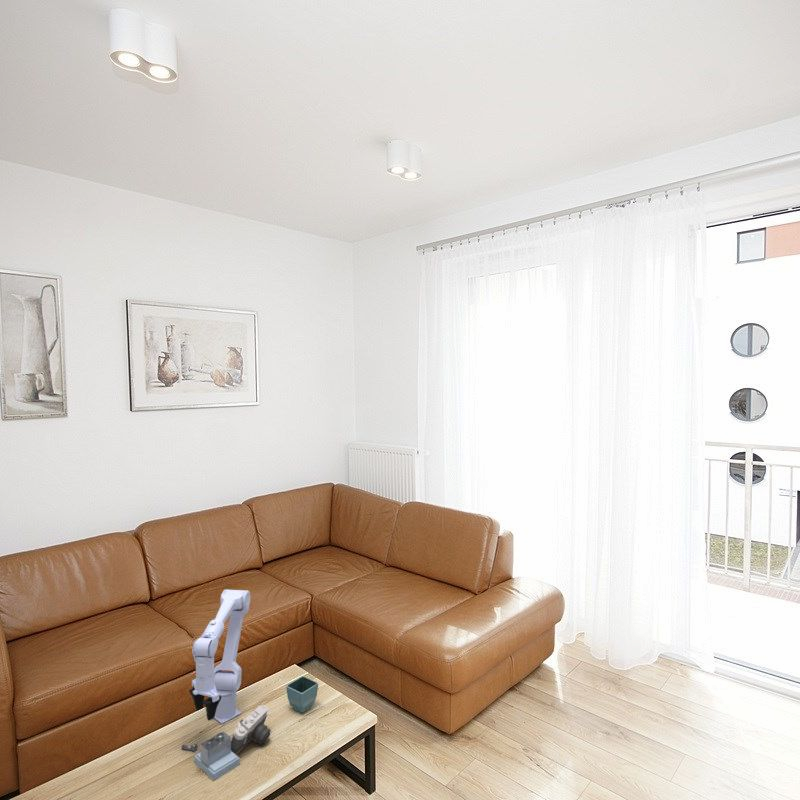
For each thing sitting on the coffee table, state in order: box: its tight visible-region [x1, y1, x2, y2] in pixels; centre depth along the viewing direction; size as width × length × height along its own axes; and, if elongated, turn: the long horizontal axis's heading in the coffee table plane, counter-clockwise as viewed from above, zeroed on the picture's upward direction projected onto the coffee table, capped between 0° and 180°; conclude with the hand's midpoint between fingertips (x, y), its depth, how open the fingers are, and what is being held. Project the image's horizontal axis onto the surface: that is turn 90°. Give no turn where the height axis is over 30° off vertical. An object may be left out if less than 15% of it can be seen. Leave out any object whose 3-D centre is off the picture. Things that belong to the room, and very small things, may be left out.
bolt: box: [181, 743, 198, 752], centre depth 169 cm, size 5×2×2 cm, turn 79°
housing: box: [199, 730, 232, 766], centre depth 163 cm, size 4×8×6 cm, turn 139°
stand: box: [193, 751, 241, 781], centre depth 163 cm, size 12×9×2 cm
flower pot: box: [285, 675, 319, 714], centre depth 192 cm, size 9×9×9 cm
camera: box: [231, 704, 271, 755], centre depth 172 cm, size 9×16×10 cm, turn 158°
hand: (205, 713), depth 172 cm, fingers open, 7 cm apart
